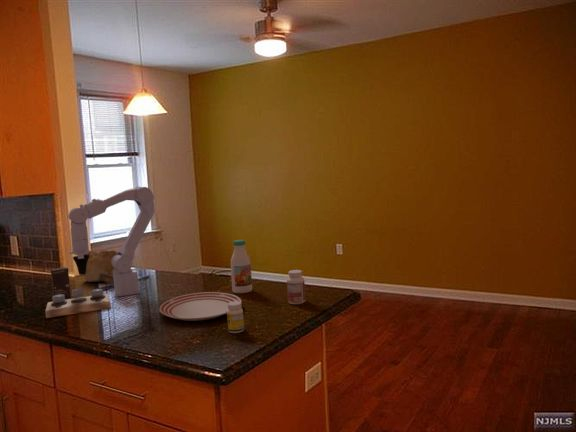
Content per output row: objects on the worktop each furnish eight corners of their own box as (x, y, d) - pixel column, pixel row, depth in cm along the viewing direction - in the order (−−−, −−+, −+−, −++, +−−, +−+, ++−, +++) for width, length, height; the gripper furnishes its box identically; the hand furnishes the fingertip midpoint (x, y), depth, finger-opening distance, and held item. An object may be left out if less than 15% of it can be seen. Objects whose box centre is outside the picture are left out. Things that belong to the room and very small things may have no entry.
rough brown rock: (141, 281, 213) (140, 248, 212) (106, 287, 200) (105, 251, 199) (113, 277, 227) (112, 246, 227) (79, 282, 214) (78, 249, 214)
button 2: (103, 293, 178) (102, 288, 178) (103, 296, 174) (102, 290, 174) (91, 295, 176) (91, 290, 176) (91, 297, 173) (91, 292, 173)
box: (54, 300, 185) (51, 270, 183) (53, 298, 188) (50, 268, 187) (71, 297, 188) (68, 268, 187) (69, 295, 192) (66, 266, 190)
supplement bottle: (228, 328, 143) (226, 301, 142) (244, 327, 143) (242, 300, 142) (228, 334, 138) (226, 306, 137) (244, 332, 138) (242, 304, 137)
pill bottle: (296, 298, 170) (295, 268, 169) (309, 301, 166) (307, 270, 164) (284, 302, 166) (282, 271, 165) (296, 306, 161) (295, 274, 160)
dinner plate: (258, 309, 161) (257, 299, 160) (190, 332, 141) (189, 322, 141) (210, 296, 180) (209, 287, 180) (144, 315, 161) (143, 305, 160)
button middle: (84, 293, 175) (83, 287, 175) (84, 295, 172) (83, 290, 171) (72, 294, 174) (71, 289, 174) (72, 297, 170) (71, 292, 170)
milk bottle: (228, 293, 182) (225, 242, 180) (238, 287, 189) (235, 238, 187) (246, 294, 179) (243, 242, 177) (255, 289, 186) (252, 238, 184)
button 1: (65, 299, 173) (64, 293, 173) (64, 301, 169) (64, 296, 169) (53, 300, 171) (52, 295, 171) (52, 303, 168) (51, 298, 168)
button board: (109, 299, 182) (108, 292, 182) (110, 307, 171) (110, 299, 171) (48, 308, 174) (47, 300, 173) (46, 318, 163) (45, 309, 162)
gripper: (68, 237, 185) (71, 271, 186) (67, 242, 171) (70, 279, 173) (88, 236, 187) (90, 269, 189) (88, 241, 174) (91, 277, 176)
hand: (82, 274), depth 181 cm, fingers closed
